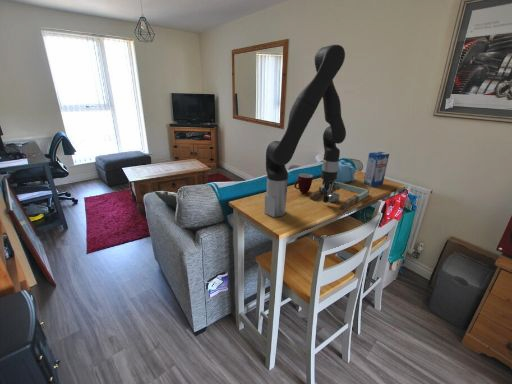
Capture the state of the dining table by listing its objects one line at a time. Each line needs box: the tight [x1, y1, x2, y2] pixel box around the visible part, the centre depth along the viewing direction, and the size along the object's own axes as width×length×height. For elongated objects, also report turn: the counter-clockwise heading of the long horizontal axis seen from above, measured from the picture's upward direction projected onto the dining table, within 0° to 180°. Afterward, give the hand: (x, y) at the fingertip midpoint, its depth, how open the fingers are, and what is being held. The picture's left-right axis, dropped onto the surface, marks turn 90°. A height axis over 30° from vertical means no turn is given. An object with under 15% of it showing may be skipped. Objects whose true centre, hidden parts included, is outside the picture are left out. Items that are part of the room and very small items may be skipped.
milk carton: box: [363, 151, 390, 188], centre depth 157 cm, size 10×6×20 cm, turn 115°
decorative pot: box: [334, 159, 356, 184], centre depth 163 cm, size 16×16×14 cm
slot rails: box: [309, 189, 358, 211], centre depth 134 cm, size 16×19×3 cm
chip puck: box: [327, 192, 340, 204], centre depth 134 cm, size 6×6×4 cm
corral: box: [334, 181, 370, 202], centre depth 144 cm, size 13×20×3 cm, turn 46°
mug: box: [293, 173, 313, 194], centre depth 143 cm, size 11×8×10 cm
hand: (325, 202), depth 128 cm, fingers closed
